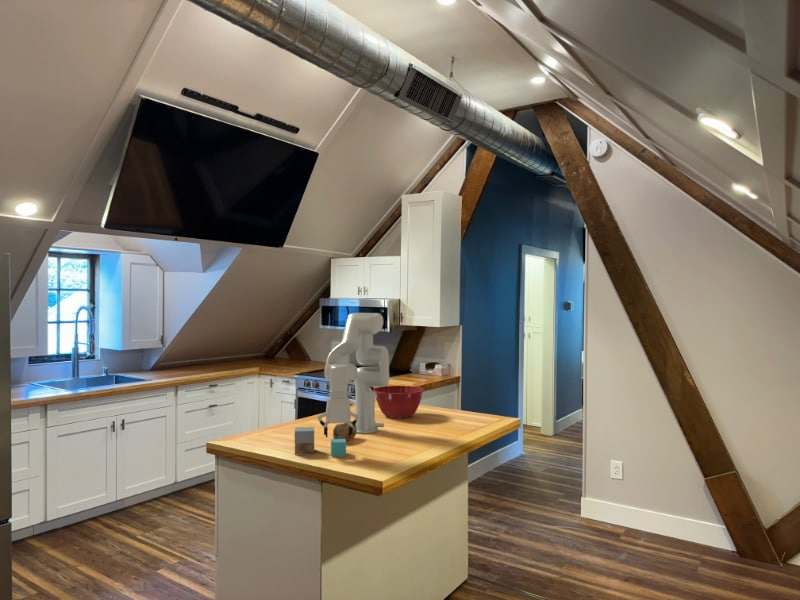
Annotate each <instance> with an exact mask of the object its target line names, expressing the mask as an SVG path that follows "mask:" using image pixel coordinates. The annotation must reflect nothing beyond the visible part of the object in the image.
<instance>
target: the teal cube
mask: <svg viewBox="0 0 800 600" xmlns="http://www.w3.org/2000/svg"><path fill="white" fill-rule="evenodd" d="M331 456H346V457H347V441H346V440H345V439H334V438H331V439H330V457H331Z"/></svg>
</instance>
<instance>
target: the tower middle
mask: <svg viewBox="0 0 800 600" xmlns="http://www.w3.org/2000/svg"><path fill="white" fill-rule="evenodd" d="M295 443H314V444H315V426H296V427H295V429H294V444H295Z"/></svg>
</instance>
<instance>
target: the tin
mask: <svg viewBox="0 0 800 600" xmlns="http://www.w3.org/2000/svg"><path fill="white" fill-rule="evenodd" d="M350 421H351V420H350ZM353 421H354V420H353ZM353 421H351V422H353ZM356 431H357V429H356V424H355V425H354V426H353V427H352V434H351V437H349V424H348V423H337V424H336V425H335V426H334V428H333V431H332V436H333V438H332V439H345V440H346V442H348V440H349V441H351V439H352V440H353V439H354V438H355V437H356V434H357V433H356Z"/></svg>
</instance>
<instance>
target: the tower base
mask: <svg viewBox="0 0 800 600" xmlns="http://www.w3.org/2000/svg"><path fill="white" fill-rule="evenodd" d="M296 454H310V455H315V442H314V443H295V442H294V456H295V455H296ZM296 456H297V455H296Z"/></svg>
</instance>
